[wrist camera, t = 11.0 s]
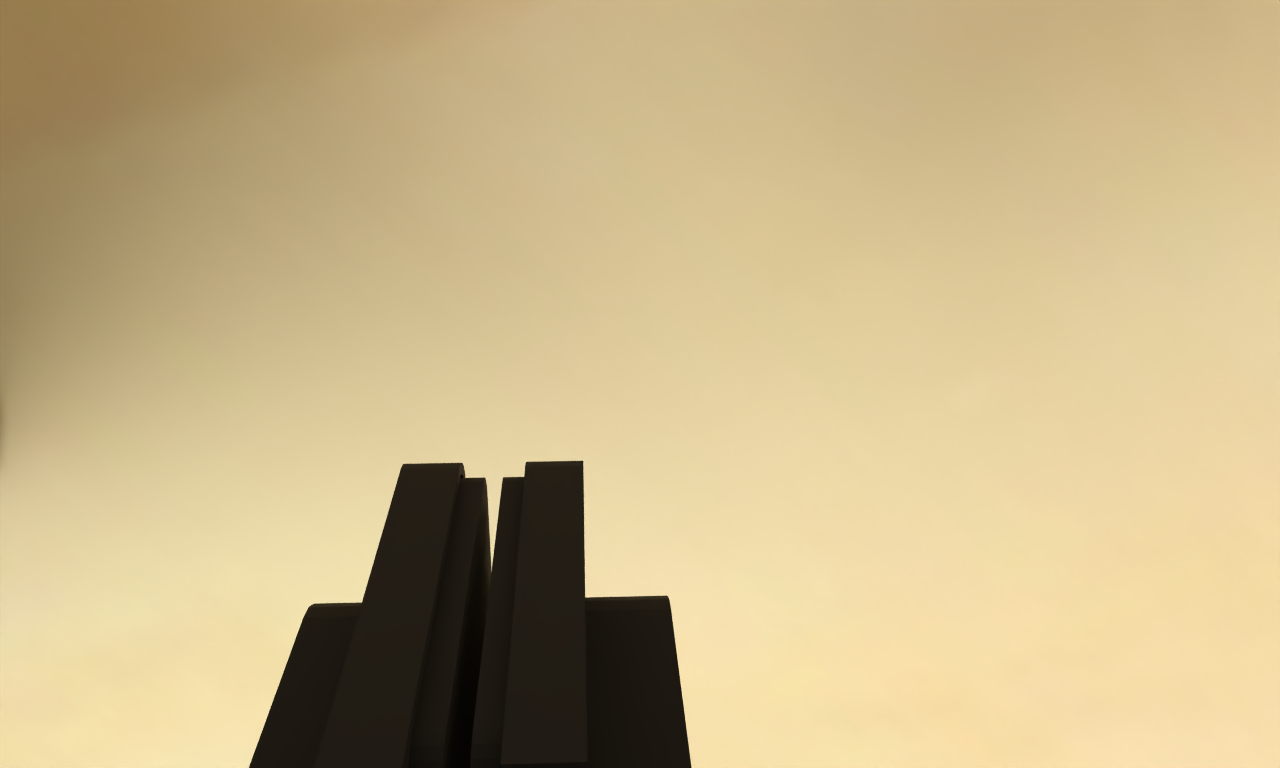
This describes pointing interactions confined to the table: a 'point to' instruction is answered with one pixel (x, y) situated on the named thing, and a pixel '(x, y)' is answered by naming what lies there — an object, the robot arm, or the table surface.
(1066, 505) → the table surface
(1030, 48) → the table surface
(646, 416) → the table surface
